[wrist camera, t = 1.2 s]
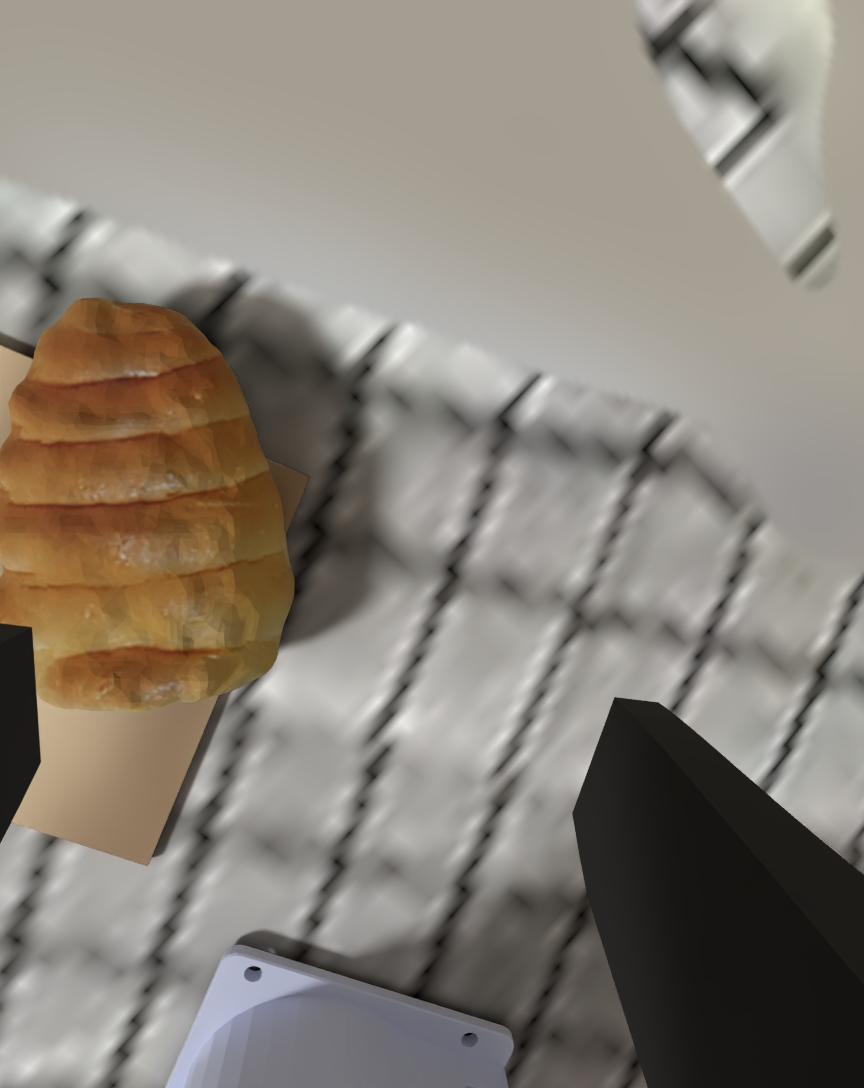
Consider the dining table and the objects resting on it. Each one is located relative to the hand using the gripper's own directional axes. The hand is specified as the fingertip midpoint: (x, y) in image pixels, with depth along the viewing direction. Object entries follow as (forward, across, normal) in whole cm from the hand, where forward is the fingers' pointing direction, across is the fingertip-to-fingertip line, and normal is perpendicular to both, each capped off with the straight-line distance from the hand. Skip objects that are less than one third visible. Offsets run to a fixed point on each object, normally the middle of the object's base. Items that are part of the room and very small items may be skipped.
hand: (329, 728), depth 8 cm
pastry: (+10, +5, +2) cm, 11 cm away
